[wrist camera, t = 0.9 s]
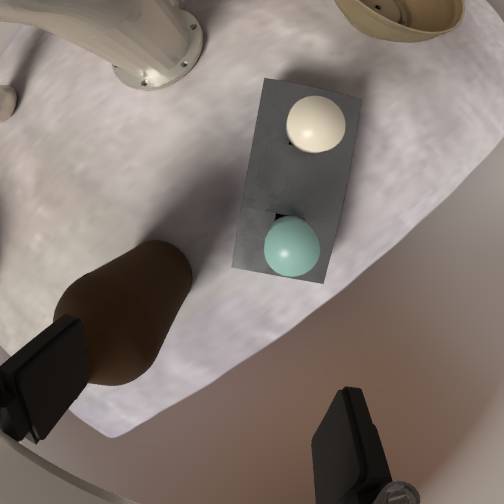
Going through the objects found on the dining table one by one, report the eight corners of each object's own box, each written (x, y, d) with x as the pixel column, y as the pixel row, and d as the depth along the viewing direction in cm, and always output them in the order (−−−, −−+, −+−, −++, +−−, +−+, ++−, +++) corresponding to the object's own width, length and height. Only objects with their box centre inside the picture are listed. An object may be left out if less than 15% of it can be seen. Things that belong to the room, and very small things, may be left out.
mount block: (265, 91, 32) (264, 77, 27) (347, 109, 32) (361, 99, 26) (237, 251, 38) (231, 267, 32) (316, 265, 38) (323, 283, 32)
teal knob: (270, 203, 32) (269, 217, 23) (311, 211, 32) (325, 228, 23) (262, 242, 33) (259, 271, 24) (302, 250, 33) (312, 280, 24)
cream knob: (287, 110, 29) (292, 90, 20) (328, 119, 29) (349, 103, 20) (279, 150, 30) (283, 145, 21) (321, 159, 30) (340, 157, 21)
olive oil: (211, 261, 39) (131, 396, 15) (177, 322, 41) (102, 461, 18) (141, 220, 38) (-2, 298, 14) (115, 284, 41) (1, 388, 17)
